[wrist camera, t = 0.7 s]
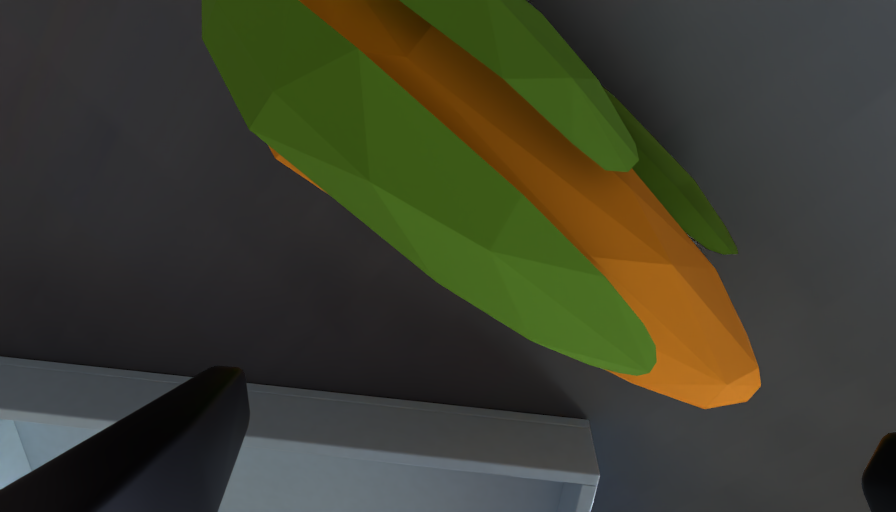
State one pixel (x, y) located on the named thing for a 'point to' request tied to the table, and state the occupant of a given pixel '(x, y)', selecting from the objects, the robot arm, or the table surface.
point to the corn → (497, 175)
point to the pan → (321, 445)
